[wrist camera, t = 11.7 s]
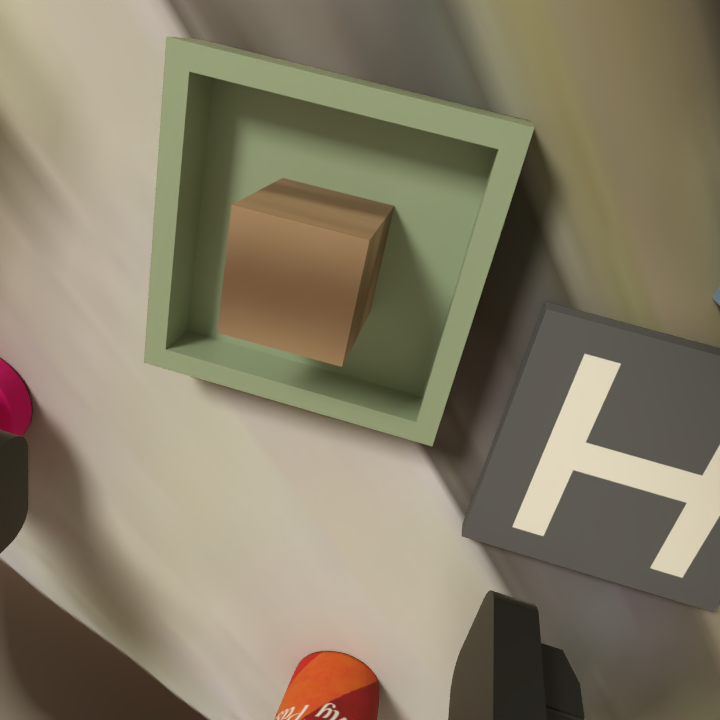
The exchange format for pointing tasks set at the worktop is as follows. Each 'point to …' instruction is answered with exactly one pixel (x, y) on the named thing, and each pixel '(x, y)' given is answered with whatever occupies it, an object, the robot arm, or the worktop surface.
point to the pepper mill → (13, 402)
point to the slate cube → (717, 295)
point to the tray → (342, 174)
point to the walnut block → (302, 268)
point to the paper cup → (331, 689)
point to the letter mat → (609, 458)
